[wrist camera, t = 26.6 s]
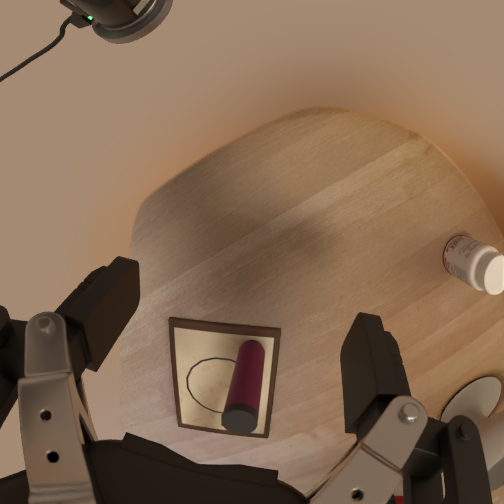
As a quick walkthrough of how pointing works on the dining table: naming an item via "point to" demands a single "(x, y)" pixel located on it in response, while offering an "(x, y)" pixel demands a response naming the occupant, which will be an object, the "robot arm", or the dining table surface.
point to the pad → (216, 371)
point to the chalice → (483, 422)
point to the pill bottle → (475, 264)
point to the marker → (245, 390)
